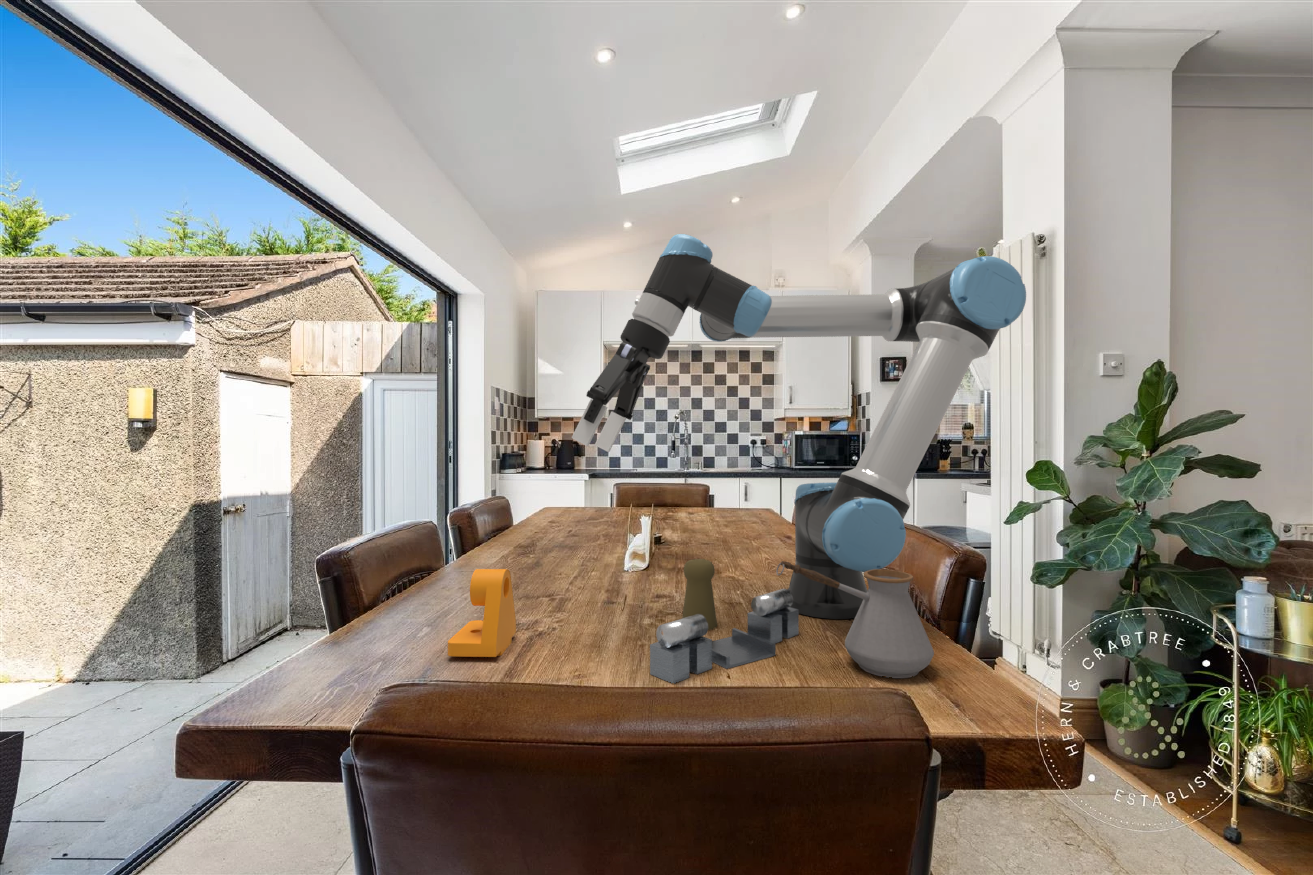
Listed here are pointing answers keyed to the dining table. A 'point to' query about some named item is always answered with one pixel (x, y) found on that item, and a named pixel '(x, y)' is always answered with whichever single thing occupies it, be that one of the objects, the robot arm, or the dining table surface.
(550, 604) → the dining table surface
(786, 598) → the shaft
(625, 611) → the dining table surface
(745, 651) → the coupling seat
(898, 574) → the coffee pot
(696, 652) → the shaft
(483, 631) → the bracket
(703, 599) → the olive pepper mill
